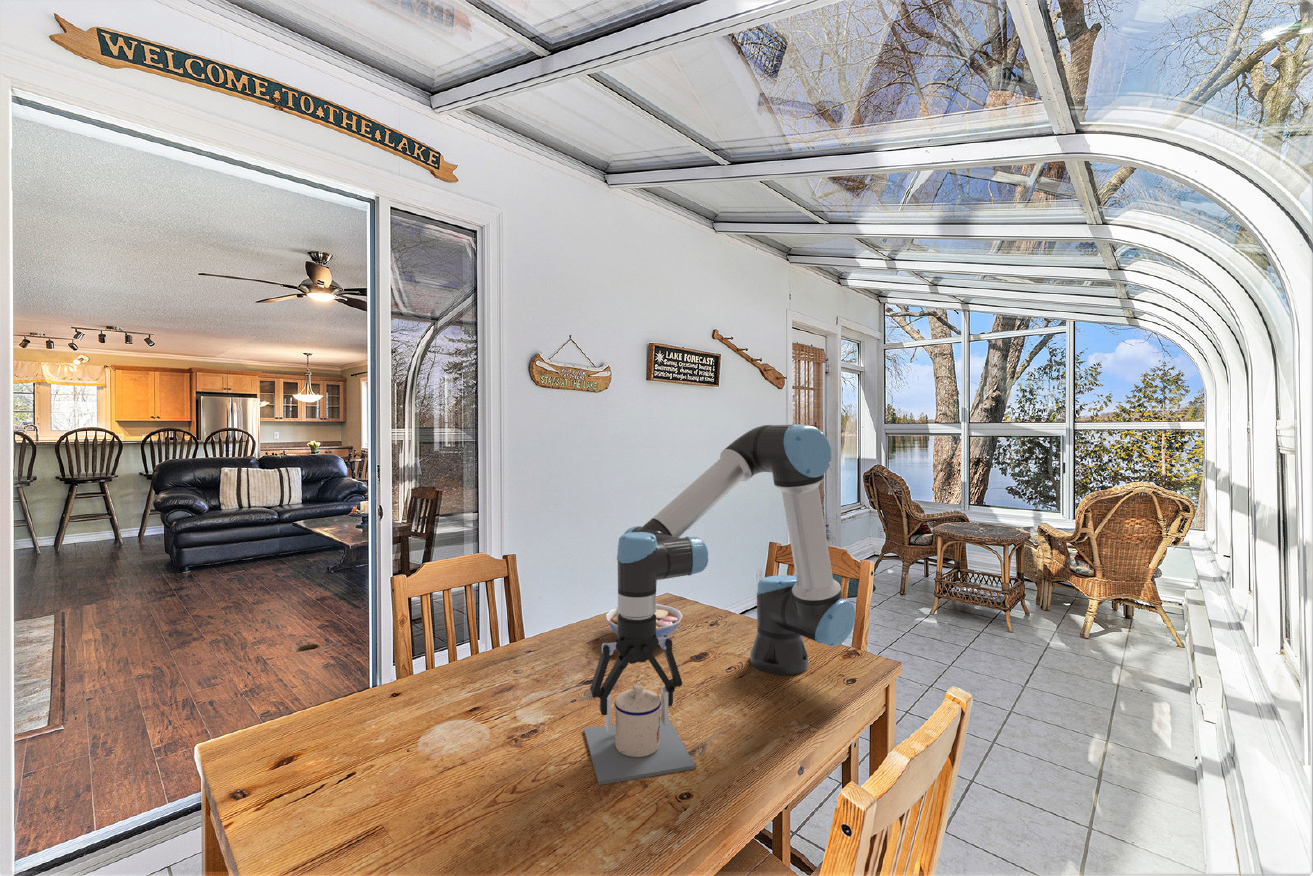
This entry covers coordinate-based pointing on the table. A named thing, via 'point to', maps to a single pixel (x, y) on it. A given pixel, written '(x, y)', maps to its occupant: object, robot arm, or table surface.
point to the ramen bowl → (664, 620)
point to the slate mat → (623, 767)
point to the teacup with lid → (637, 722)
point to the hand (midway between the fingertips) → (636, 726)
